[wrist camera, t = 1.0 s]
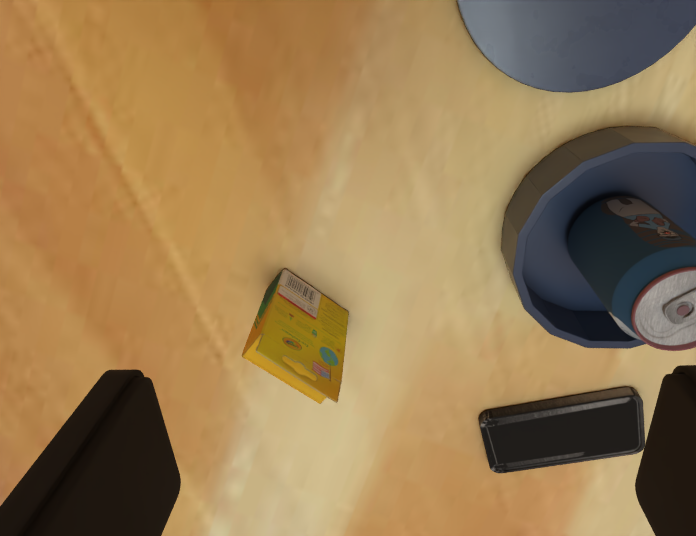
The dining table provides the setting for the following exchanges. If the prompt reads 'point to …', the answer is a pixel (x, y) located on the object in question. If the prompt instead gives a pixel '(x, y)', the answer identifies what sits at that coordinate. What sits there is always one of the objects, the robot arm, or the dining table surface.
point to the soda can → (639, 269)
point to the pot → (570, 201)
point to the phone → (564, 430)
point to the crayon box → (299, 338)
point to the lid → (576, 38)
